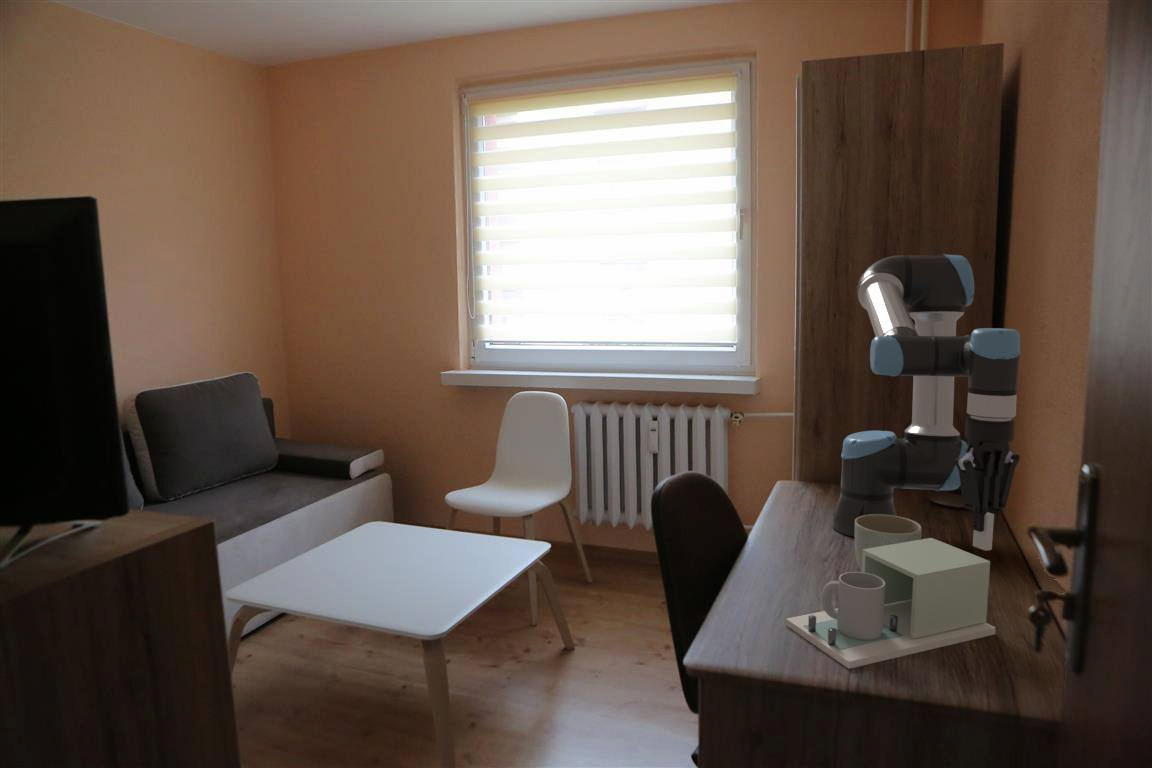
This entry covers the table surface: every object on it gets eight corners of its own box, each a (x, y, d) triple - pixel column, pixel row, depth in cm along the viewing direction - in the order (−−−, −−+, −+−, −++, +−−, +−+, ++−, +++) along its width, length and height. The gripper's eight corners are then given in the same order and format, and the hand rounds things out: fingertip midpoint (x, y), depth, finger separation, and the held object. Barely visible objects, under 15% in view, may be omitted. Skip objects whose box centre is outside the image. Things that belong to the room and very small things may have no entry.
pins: (872, 616, 132) (872, 602, 132) (898, 631, 127) (899, 617, 126) (806, 630, 128) (807, 616, 127) (831, 646, 122) (831, 632, 122)
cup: (878, 645, 122) (880, 592, 121) (815, 630, 127) (817, 580, 126) (886, 627, 128) (888, 577, 127) (826, 614, 133) (827, 565, 132)
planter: (842, 564, 159) (844, 515, 158) (899, 562, 160) (902, 513, 159) (869, 589, 147) (871, 535, 145) (930, 586, 148) (934, 532, 146)
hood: (928, 593, 141) (931, 537, 139) (986, 621, 129) (990, 561, 128) (859, 607, 135) (862, 549, 134) (913, 638, 124) (917, 575, 122)
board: (921, 597, 143) (921, 590, 143) (995, 634, 128) (995, 627, 128) (785, 625, 132) (785, 618, 132) (848, 668, 117) (849, 661, 117)
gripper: (999, 411, 138) (991, 536, 141) (944, 416, 133) (937, 545, 136) (1037, 418, 131) (1027, 549, 134) (980, 423, 126) (972, 559, 129)
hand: (982, 547), depth 135 cm, fingers closed
